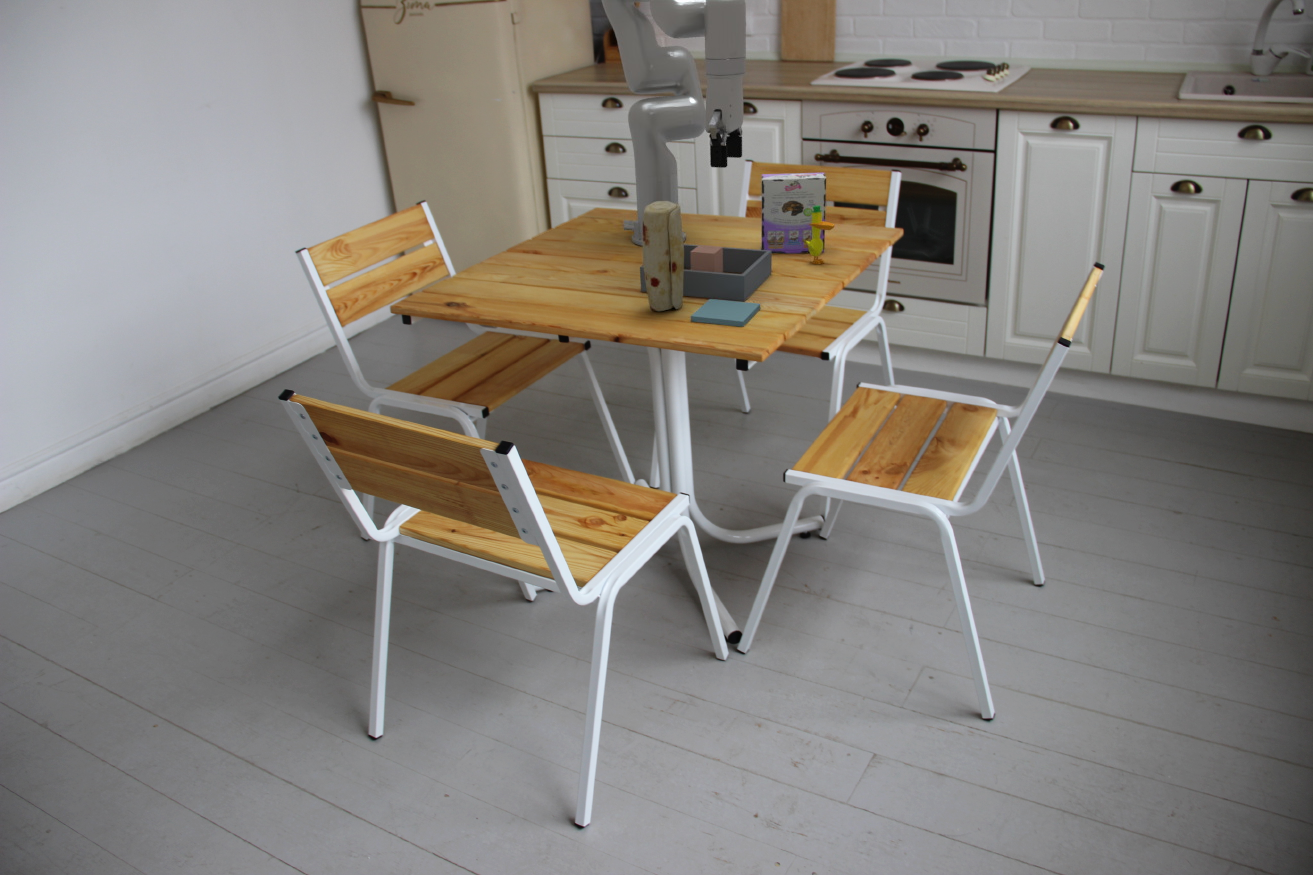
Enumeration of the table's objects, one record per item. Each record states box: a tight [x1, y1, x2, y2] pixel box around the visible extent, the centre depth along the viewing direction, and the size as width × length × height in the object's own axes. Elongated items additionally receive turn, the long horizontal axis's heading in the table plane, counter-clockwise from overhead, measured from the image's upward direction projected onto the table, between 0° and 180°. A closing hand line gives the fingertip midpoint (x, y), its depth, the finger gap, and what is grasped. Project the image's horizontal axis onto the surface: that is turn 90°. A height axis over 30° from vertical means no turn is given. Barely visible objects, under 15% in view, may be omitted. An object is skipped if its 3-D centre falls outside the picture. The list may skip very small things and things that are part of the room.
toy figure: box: [806, 206, 836, 265], centre depth 203 cm, size 7×4×12 cm, turn 49°
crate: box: [639, 243, 773, 302], centre depth 196 cm, size 22×18×5 cm
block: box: [690, 244, 724, 273], centre depth 195 cm, size 5×5×7 cm
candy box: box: [760, 172, 827, 254], centre depth 211 cm, size 14×6×16 cm, turn 84°
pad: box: [690, 298, 761, 328], centre depth 179 cm, size 10×10×1 cm
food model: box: [642, 201, 685, 312], centre depth 180 cm, size 10×7×20 cm
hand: (726, 162), depth 188 cm, fingers open, 9 cm apart
